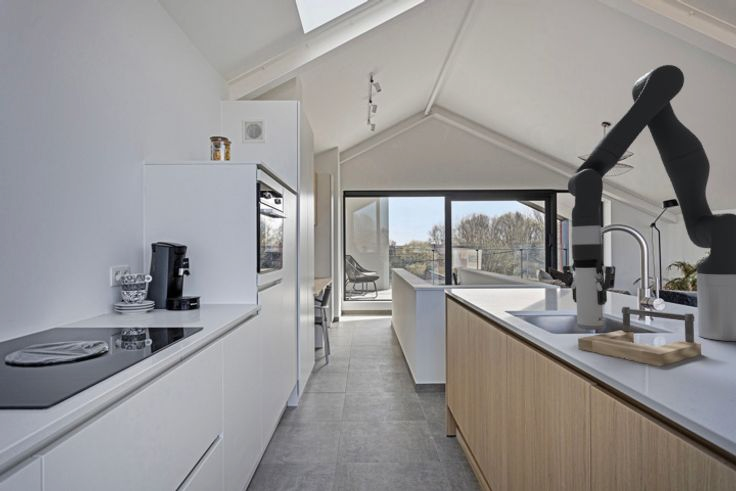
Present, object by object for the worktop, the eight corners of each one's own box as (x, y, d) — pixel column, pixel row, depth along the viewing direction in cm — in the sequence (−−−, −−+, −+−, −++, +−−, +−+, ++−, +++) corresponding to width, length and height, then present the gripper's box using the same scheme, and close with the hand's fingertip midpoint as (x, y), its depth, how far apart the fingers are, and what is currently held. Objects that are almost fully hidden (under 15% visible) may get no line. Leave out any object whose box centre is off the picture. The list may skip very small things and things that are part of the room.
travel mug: (608, 330, 108) (605, 255, 108) (581, 330, 109) (578, 256, 109) (600, 325, 114) (596, 254, 114) (574, 325, 115) (571, 255, 116)
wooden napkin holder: (620, 339, 108) (619, 306, 109) (702, 354, 93) (700, 314, 93) (578, 348, 99) (577, 312, 100) (660, 366, 84) (659, 322, 84)
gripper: (621, 241, 108) (624, 304, 107) (571, 243, 120) (573, 299, 120) (604, 242, 104) (607, 307, 104) (554, 244, 116) (557, 302, 116)
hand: (589, 303), depth 112 cm, fingers closed on travel mug, 6 cm apart
